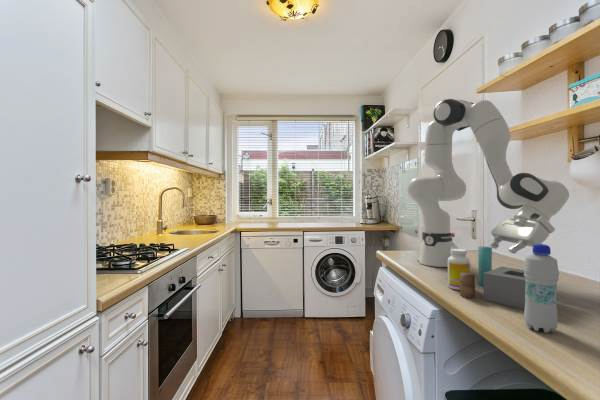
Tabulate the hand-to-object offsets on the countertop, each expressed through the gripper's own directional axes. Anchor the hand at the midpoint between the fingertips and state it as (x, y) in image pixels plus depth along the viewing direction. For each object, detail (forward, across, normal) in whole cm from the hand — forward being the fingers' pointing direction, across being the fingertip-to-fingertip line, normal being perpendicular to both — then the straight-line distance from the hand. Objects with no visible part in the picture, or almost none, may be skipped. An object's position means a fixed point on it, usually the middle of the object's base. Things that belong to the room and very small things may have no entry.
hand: (501, 249), depth 112 cm
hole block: (+13, +16, +4) cm, 21 cm away
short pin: (+22, +11, -4) cm, 25 cm away
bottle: (+20, +36, -2) cm, 41 cm away
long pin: (+13, 0, +4) cm, 14 cm away
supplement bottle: (+21, +3, -3) cm, 21 cm away
